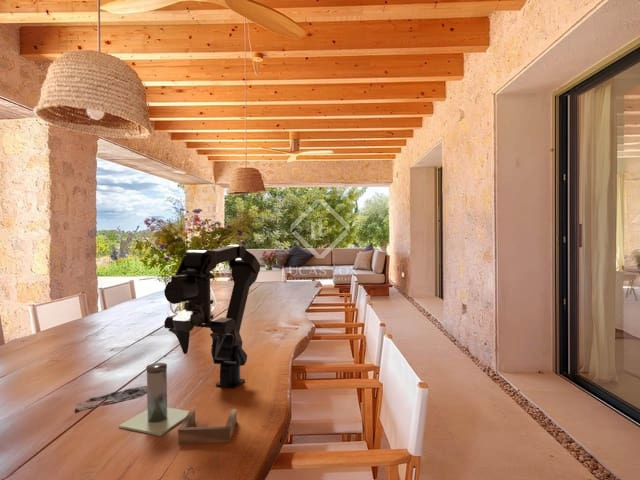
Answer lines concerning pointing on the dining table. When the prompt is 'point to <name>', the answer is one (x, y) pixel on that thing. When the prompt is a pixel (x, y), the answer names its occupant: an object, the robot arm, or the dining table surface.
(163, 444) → the dining table surface
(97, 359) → the dining table surface
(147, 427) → the tile
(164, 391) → the canister
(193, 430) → the cubby
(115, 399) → the driftwood
